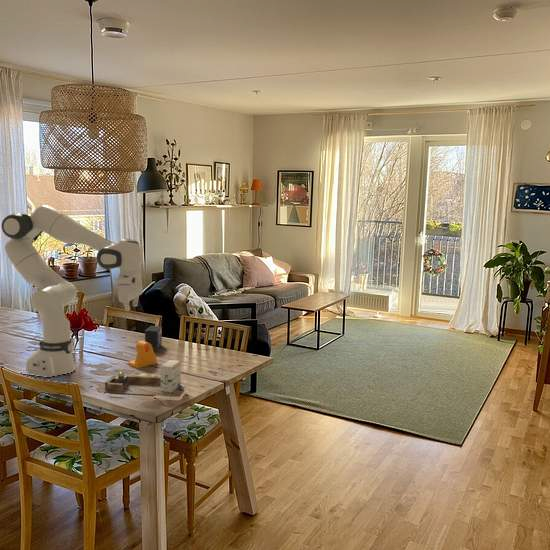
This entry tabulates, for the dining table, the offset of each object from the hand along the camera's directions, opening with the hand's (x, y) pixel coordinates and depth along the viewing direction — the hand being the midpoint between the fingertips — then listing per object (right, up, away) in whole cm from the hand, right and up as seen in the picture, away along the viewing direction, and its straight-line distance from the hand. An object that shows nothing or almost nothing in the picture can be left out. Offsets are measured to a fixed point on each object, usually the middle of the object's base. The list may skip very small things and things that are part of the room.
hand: (131, 308), depth 236 cm
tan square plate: (+7, -30, -2) cm, 31 cm away
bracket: (+1, -28, +14) cm, 31 cm away
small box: (0, -23, +43) cm, 49 cm away
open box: (+5, -32, -15) cm, 35 cm away
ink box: (+20, -33, -15) cm, 41 cm away
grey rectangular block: (0, -31, -14) cm, 34 cm away
